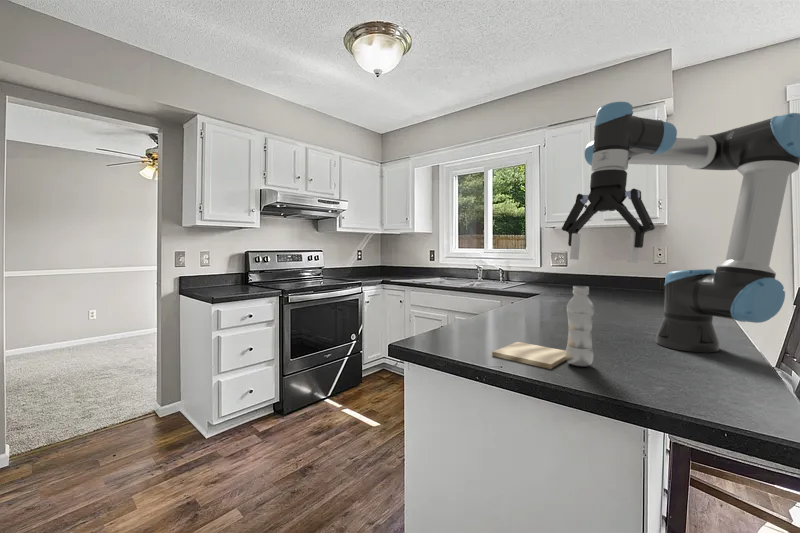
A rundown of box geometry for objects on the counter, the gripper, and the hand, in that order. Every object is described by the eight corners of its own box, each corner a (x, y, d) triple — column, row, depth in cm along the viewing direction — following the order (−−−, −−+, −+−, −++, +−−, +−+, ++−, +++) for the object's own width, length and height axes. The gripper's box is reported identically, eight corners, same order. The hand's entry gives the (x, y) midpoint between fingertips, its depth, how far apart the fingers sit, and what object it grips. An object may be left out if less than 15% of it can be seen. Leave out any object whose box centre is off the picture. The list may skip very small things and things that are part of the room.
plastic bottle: (592, 363, 95) (594, 286, 94) (594, 371, 89) (596, 288, 88) (565, 360, 98) (566, 284, 97) (564, 367, 92) (566, 287, 91)
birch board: (572, 356, 102) (572, 351, 101) (550, 369, 91) (550, 364, 91) (517, 345, 113) (517, 341, 113) (492, 355, 102) (492, 351, 102)
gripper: (551, 175, 96) (545, 257, 97) (663, 159, 76) (654, 263, 76) (567, 180, 100) (561, 258, 101) (677, 166, 80) (668, 264, 81)
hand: (601, 261), depth 89 cm, fingers open, 13 cm apart
